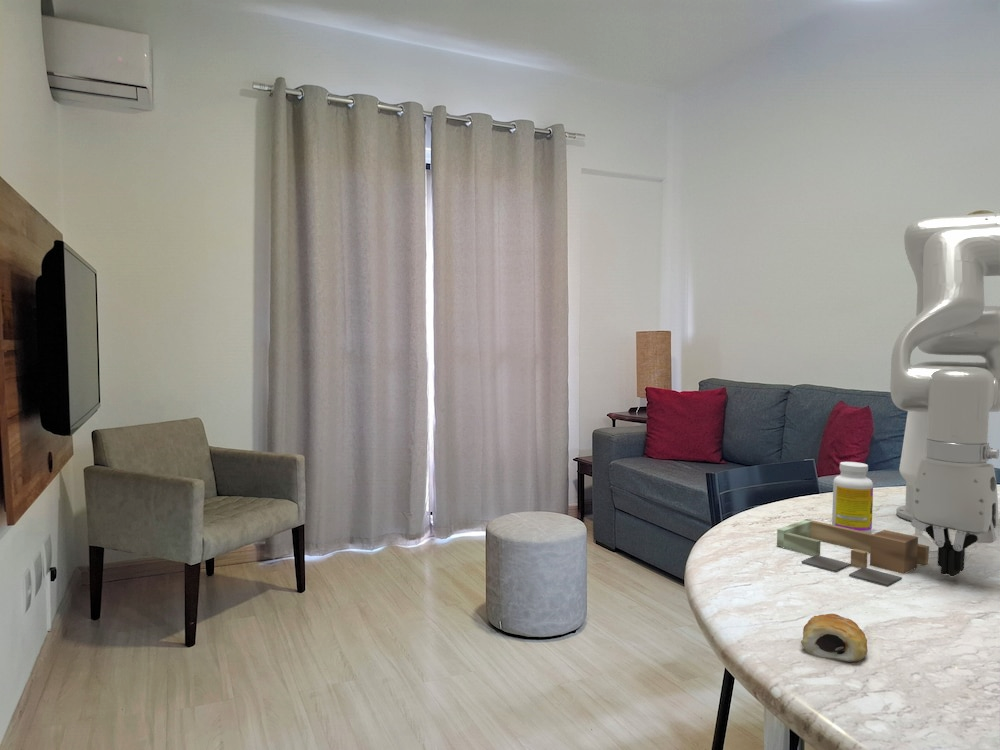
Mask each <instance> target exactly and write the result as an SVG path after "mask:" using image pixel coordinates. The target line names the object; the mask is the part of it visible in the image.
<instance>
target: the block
mask: <svg viewBox="0 0 1000 750" xmlns="http://www.w3.org/2000/svg"><path fill="white" fill-rule="evenodd" d="M872 534H873V535H871V548H870V554H869V566H871V567H875V568H878V569H882V570H886V571H890V572H894V573H897V572H898V574H901V575H905V574H907V573H909V572H911V571H913V570H915V569H917V567H918V564H917V550H918V537H916V536H911V535H912V534H911V535H910V534H906V533H902V532H897V531H892V530H888V529H882V530H880V531H878V532H876V533H872ZM914 568H915V569H914Z"/></svg>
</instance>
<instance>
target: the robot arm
mask: <svg viewBox="0 0 1000 750" xmlns="http://www.w3.org/2000/svg"><path fill="white" fill-rule="evenodd" d="M903 238H904V239H903V241H904V249H905V254H906V257H907V260H908V263H909V266H910V268H911V270H912V272H913V275H914V277H915V281H916V288H917V289H916V292H917V294H916V314H915V317H914V318H913V319H912V320H911V321H909V322H908V323H907V324H906V325H905V326H904V328H903V329H902V331H901V332H900V333H899V335H898V336H897V339H896V340H895V341H894V345H893V348H892V351H891V352H892V353H891V359H890V361H891V363H890V384H889V385H890V386H889V387H890V388H889V389H890V397H891V400H892V402H893V404H894V406H896V407H897V408H898V409H899V410H902V411H906V412H908V411H913V412H928V414H927V438H926V457H923V458H921V461H920V464H919V467H918V471H917V476H916V480H915V486H914V488H913V487H911V486H910V485H909V484H908V483H907V482H906V481H905V482H906V483H905V505H901V506H898V507H897V508H895V509H896V510H895V511H896V512H895V513H896V515H897V516H898V517H900V518H902V519H904V520H907V521H909V520H910V521H909V522H911V527H913V528H914V529H915V528H917V529H919V530H922V531H923V532H925V533H927V534H928V536H929V537H930V538H931V539H932V540H933V542H934V543H935V544H936V546H938V551H937V566H938V567H940V574H941V575H944V576H946V575H948V576H949V577H952V578H954V577H955V576H957V575H959V574H960V573H961V572H963V571H964V570H965V569H964V568H965V556H966V555H965V554H966V549H967V548H968V547H970V546H971V545H973V544H975V543H978V544H982V543H983V544H992V543H993V542H996V540H997V535H996V531H995V529H996V528H997V527H998V524H999V501H998V500H999V499H998V486H997V478H996V477H997V476H996V471H995V468H994V467H995V466H994V465H993V464H991V463H987V462H988V461H989V460H992V459H995V460H997V459H999V457H1000V456H999V455H1000V451H999V449H993V448H992V447H991V446H990V443H989V442H988V438H989V436H988V432H989V418H990V417H989V414H990V413H994V412H995V413H996V412H997V413H998V412H1000V305H999V306H998V305H986V304H985V287H984V284H985V283H984V281H985V280H984V279H985V277H992V276H993V277H996V276H997V277H998V276H1000V212H989V213H976V214H975V213H974V214H956V215H955V214H954V215H944V216H943V215H942V216H933V217H926V218H922V219H917V220H915V221H913V222H911V223H909V225H908V226H907V227H906V228H905V232H904V236H903ZM916 347H917V348H918V349H919V350H920V351H921V352H923V353H924V354H929V355H937V356H938V355H939V356H972V357H973V356H975V357H976V356H978V357H982V358H983V359H984V360H985V362H976V361H975V362H971V361H970V362H969V361H968V362H966V361H944V360H943V361H936V360H935V361H934V360H933V361H924V362H918V363H916V364H911V355H912V353H913V351H914V350H915V349H916ZM950 530H954V531H955V534H954V535H955V536H954V540H953V544H952V541H951V540H952V539H951V533H950Z"/></svg>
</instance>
